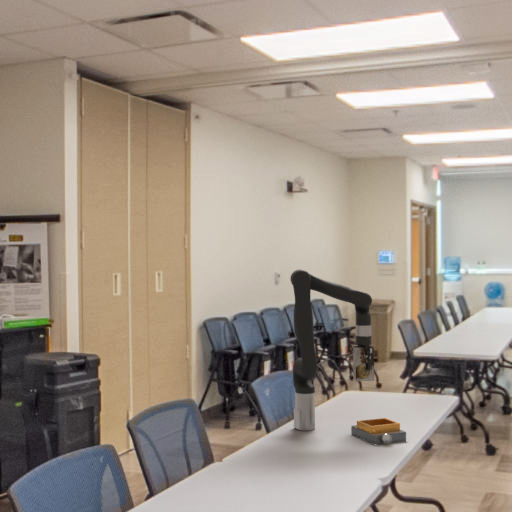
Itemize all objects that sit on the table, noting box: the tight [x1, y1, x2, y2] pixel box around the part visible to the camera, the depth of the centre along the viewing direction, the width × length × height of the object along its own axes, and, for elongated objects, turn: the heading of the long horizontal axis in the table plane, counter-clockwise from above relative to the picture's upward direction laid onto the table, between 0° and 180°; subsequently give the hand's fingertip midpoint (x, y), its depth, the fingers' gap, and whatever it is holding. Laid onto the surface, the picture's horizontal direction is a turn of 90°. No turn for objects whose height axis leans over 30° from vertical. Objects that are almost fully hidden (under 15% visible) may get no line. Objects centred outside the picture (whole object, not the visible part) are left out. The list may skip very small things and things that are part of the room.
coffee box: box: [352, 344, 375, 382], centre depth 351 cm, size 9×6×16 cm
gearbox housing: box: [350, 417, 407, 445], centre depth 331 cm, size 16×22×7 cm
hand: (363, 369), depth 351 cm, fingers closed on coffee box, 7 cm apart
